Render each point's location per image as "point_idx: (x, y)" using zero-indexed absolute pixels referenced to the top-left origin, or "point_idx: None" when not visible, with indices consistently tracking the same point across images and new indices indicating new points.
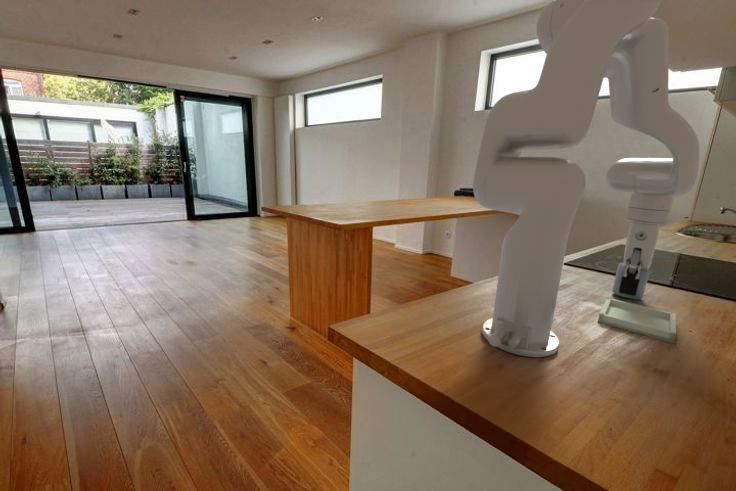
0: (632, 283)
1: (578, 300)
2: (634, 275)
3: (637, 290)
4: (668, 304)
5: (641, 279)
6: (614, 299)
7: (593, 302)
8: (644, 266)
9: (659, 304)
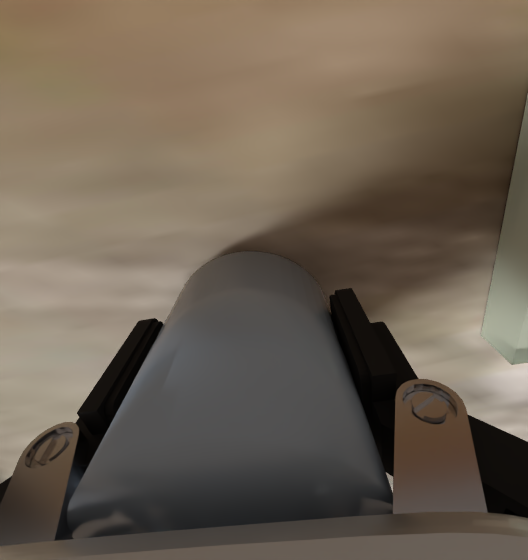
0: (406, 370)
1: (494, 408)
2: (521, 449)
3: (317, 304)
4: (151, 110)
5: (330, 365)
6: (524, 336)
7: (478, 371)
8: (74, 498)
9: (214, 155)
